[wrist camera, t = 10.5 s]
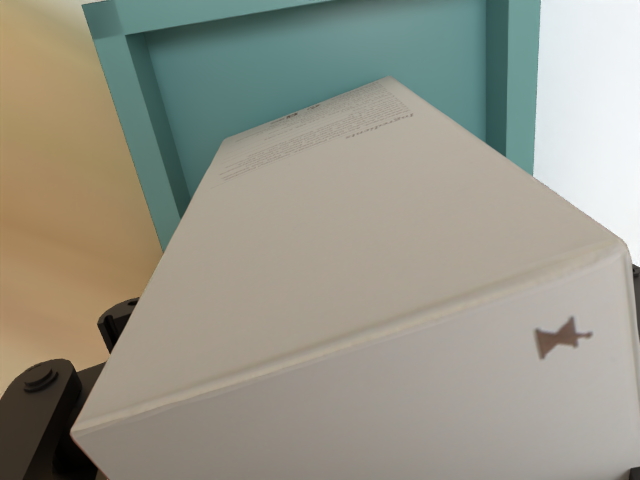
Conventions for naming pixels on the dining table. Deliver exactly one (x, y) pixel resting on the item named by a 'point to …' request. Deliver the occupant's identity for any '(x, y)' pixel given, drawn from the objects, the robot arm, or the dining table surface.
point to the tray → (303, 73)
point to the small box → (374, 316)
